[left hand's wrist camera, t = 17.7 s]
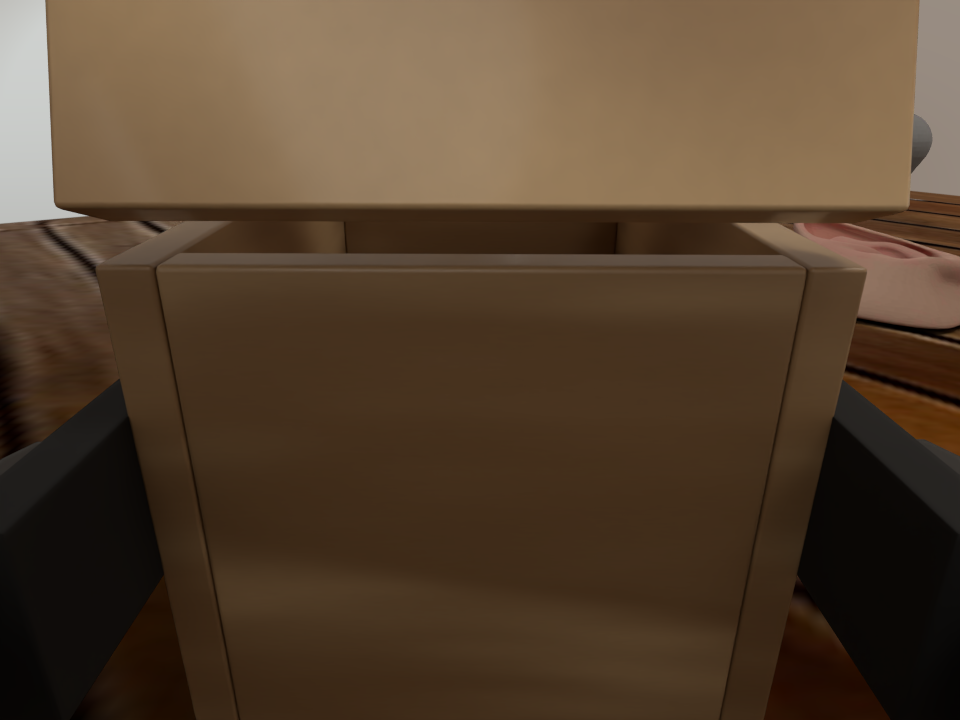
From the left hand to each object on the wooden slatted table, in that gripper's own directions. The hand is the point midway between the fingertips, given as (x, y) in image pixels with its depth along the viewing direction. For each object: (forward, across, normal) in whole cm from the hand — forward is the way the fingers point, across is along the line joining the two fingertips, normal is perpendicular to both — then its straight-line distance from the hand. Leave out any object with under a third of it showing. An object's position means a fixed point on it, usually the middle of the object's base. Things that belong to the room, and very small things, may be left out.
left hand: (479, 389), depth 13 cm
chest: (+3, 0, -7) cm, 8 cm away
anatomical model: (+30, +25, -7) cm, 40 cm away
